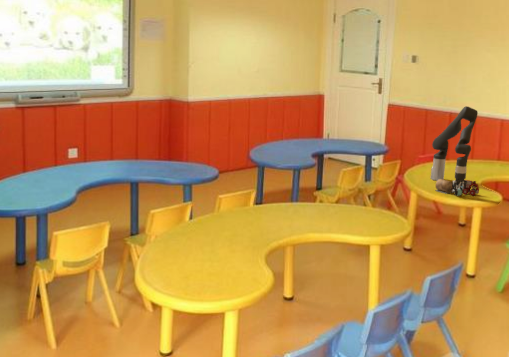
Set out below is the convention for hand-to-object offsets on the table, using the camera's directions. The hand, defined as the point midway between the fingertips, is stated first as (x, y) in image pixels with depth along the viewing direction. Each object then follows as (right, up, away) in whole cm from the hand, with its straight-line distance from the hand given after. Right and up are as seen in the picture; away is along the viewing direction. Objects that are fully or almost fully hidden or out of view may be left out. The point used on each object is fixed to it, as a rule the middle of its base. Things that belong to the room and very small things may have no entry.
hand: (458, 194), depth 469 cm
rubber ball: (0, -1, 0) cm, 1 cm away
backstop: (+4, +4, +18) cm, 19 cm away
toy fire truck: (+10, 0, +6) cm, 11 cm away
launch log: (-7, +2, +11) cm, 13 cm away
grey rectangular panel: (-2, +3, +14) cm, 15 cm away
